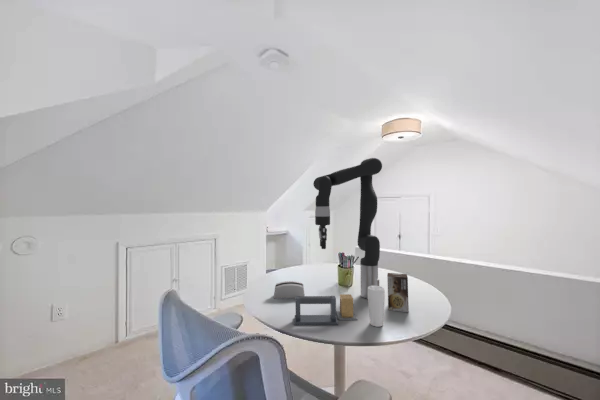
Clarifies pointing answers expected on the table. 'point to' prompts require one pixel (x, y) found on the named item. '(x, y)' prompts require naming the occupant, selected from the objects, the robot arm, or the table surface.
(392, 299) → the cookie box
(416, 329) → the table surface
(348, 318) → the slate pad
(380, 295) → the drinking glass
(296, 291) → the grey curved block
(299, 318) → the rail stand
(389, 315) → the table surface
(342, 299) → the block
